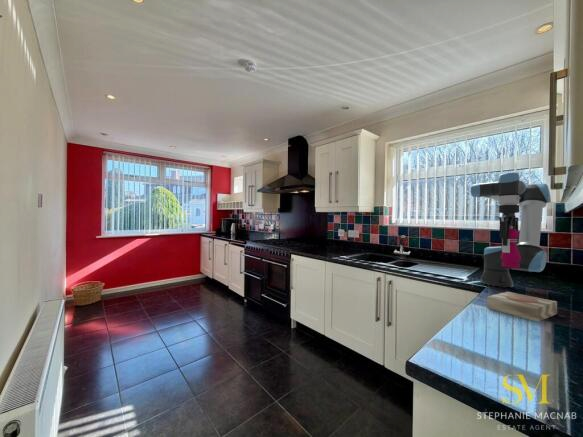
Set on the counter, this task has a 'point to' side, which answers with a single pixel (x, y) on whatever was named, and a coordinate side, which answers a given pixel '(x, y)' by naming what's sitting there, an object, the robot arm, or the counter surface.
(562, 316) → the counter surface
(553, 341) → the counter surface
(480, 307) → the counter surface
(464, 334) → the counter surface
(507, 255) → the pepper mill
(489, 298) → the birch stand
